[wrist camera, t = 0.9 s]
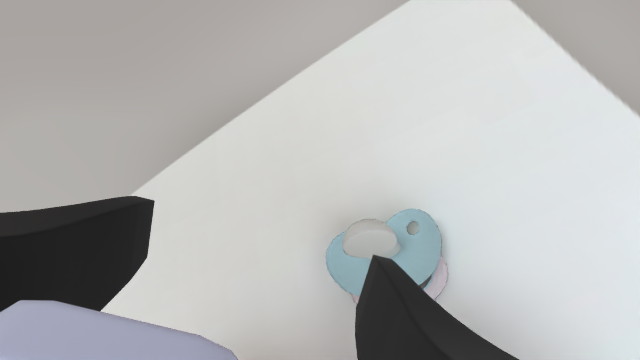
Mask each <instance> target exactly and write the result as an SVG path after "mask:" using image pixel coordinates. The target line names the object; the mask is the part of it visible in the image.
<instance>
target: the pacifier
mask: <svg viewBox="0 0 640 360" xmlns="http://www.w3.org/2000/svg"><path fill="white" fill-rule="evenodd" d="M410 222H417V223H418V225H419V230H418V232H417V233H416V234H414V235H410V234H409V233H408V232H407V226H408V224H409V223H410ZM345 252H346V253H347V254H348V255H350V256H348V255H347V254H346V253H345ZM373 255H377V256H381V257H385V258H390V259H392V260H393V261H395V262H396V263H397V264H398V265H399V266H400V267H401V268H402V269H403V270H404V271H405V272H406V273H407V274H408V275H409V276H410V277H411V278H412V279H413V280H414V281H415V282H416V283H417V284H418V285H420V284H422V283H423V282H424V281H425V280H426V279H428V278H429V277H430V275H431V274H432V275H431V279H430V281H429V282H428V284H427V285H426V287H425V288H423V290H424V291H425V292H426V293H427V294H428V295H429V296H430V297H431V298H432V299H433V300H434V299H435V298H436V297H437V296H438V295H439V294H440V293H441V291H442V289H443V288H444V286H445V284H446V280H447V276H448V271H447V265H446V263H445V261H444V259H443V258H442V256H441V236H440V232H439V229H438V226H437V225H436V223H435V221H434V220H433V219H432V218H431V216H430V215H428V214H427V213H426V212H424V211H422V210H419V209H407V210H404V211H401V212H399V213H397V214H395V215H394V216H393V217H392V218H390V219H389V221H388V222H387V223H386V224H385V223H384V222H381V221H379V220H374V219H365V220H361V221H358V222H356V223H354V224H353V225H351V226H350V227H349V228H348V230H347V231H345V232H343V233H341V234H340V235H338V236H337V237H336V238H335V239H334V240H333V241H332V242H331V244H330V245H329V248H328V250H327V255H326V264H327V267H328V270H329V272H330V275H331V276H332V278H333V279H334V280H335V282H336V283H338V284H339V286H340V287H342V288H343V289H344V290H345V291H347V292H349V293H350V294H351V296H352V298H353V300H354V302H355V303H356V304H357V303H358V300H359V297H360V294H361V291H362V288H363V284H364V281H365V278H366V275H367V272H368V268H369V265H370V262H371V259H372V256H373Z"/></svg>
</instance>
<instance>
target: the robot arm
mask: <svg viewBox="0 0 640 360" xmlns="http://www.w3.org/2000/svg"><path fill="white" fill-rule="evenodd" d="M153 208H154V200H150V199H145V198H141V197H137V196H126V197H118V198H111V199H105V200H99V201H93V202H87V203H81V204H75V205H68V206H61V207H54V208H47V209H40V210H31V211H20V212H7V213H0V360H238V359H237V357H236V356H235V355H234V354H233V352H232V351H231V350H229V349H227V348H225V347H223V346H221V345H219V344H216V343H214V342H212V341H210V340H208V339H206V338H204V337H202V336H200V335H196V334H192V333H187V332H183V331H179V330H175V329H171V328H166V327H162V326H158V325H154V324H150V323H146V322H141V321H137V320H133V319H129V318H125V317H120V316H116V315H112V314H108V313H104V312H100V311H101V310H102V309H103V308H104V307H105V306H106V305H107V304H108V303H109V302H110V301H111V300H112V299H113V298H114V297H115V296H116V295H117V294H118V293H119V292H120V291H121V290H122V288H123V287H124V286H125V285H126V284H127V283H128V282H129V281H130V280H131V279H132V277H133V276H134V275H135V273H136V272H137V271H138V269H139V268H140V267H141V265H142V264H143V262H144V261H145V260H146V258H147V254H148V247H149V239H150V231H151V223H152V216H153ZM355 338H356V348H357V358H358V360H519V359H517V358H515V357H513V356H511V355H510V354H508V353H506V352H504V351H503V350H501V349H499V348H498V347H496V346H495V345H493V344H491V343H490V342H488V341H487V340H485V339H483V338H482V337H480V336H479V335H477V334H476V333H475V332H473V331H472V330H470V329H469V328H468V327H466V326H465V325H464V324H462V323H461V322H460V321H458V320H457V319H456V318H454V317H453V316H452V315H450V314H449V313H448V312H447V311H446V310H444V309H443V308H442V307H441V306H440V305H439V304H438V303H437V302H435V301H434V300H433V299H432V298H431V297H430V296H429V295H428V294H427V293H426V292H425V291H424V290H423V289H422V288H421V287H420V286H419V285H418V284H417V283H416V282H415V281H414V280H413V279H412V278H411V277H410V276H409V275H408V274H407V273H406V272H405V271H404V270H403V269H402V268H401V267H400V266H399V265H398V264H397V263H396V262H395V261H393V260H392V259H390V258H385V257H381V256H377V255H373V256H372V259H371V262H370V265H369V268H368V272H367V275H366V278H365V281H364V284H363V288H362V291H361V294H360V297H359V300H358V303H357V307H356V322H355Z"/></svg>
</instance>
